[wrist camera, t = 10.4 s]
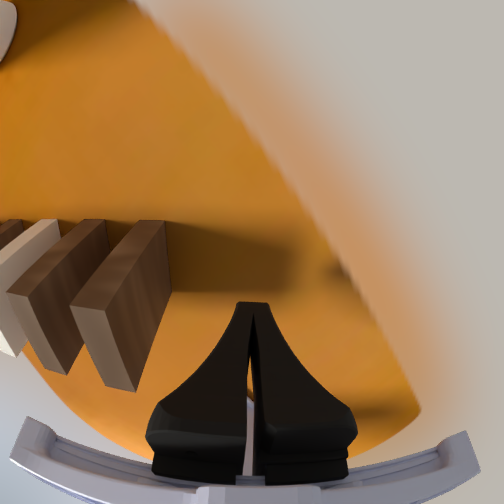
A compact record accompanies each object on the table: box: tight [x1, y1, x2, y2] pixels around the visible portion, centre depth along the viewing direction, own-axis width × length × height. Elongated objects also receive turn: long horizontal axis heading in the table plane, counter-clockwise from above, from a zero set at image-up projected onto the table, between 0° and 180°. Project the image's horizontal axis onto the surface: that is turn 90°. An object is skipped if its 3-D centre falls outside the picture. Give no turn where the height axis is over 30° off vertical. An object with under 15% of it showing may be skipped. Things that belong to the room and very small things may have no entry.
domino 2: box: [6, 219, 110, 375], centre depth 13 cm, size 2×5×8 cm, turn 177°
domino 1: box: [69, 220, 172, 393], centre depth 13 cm, size 2×5×8 cm, turn 177°
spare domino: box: [0, 219, 61, 358], centre depth 13 cm, size 2×5×8 cm, turn 177°
